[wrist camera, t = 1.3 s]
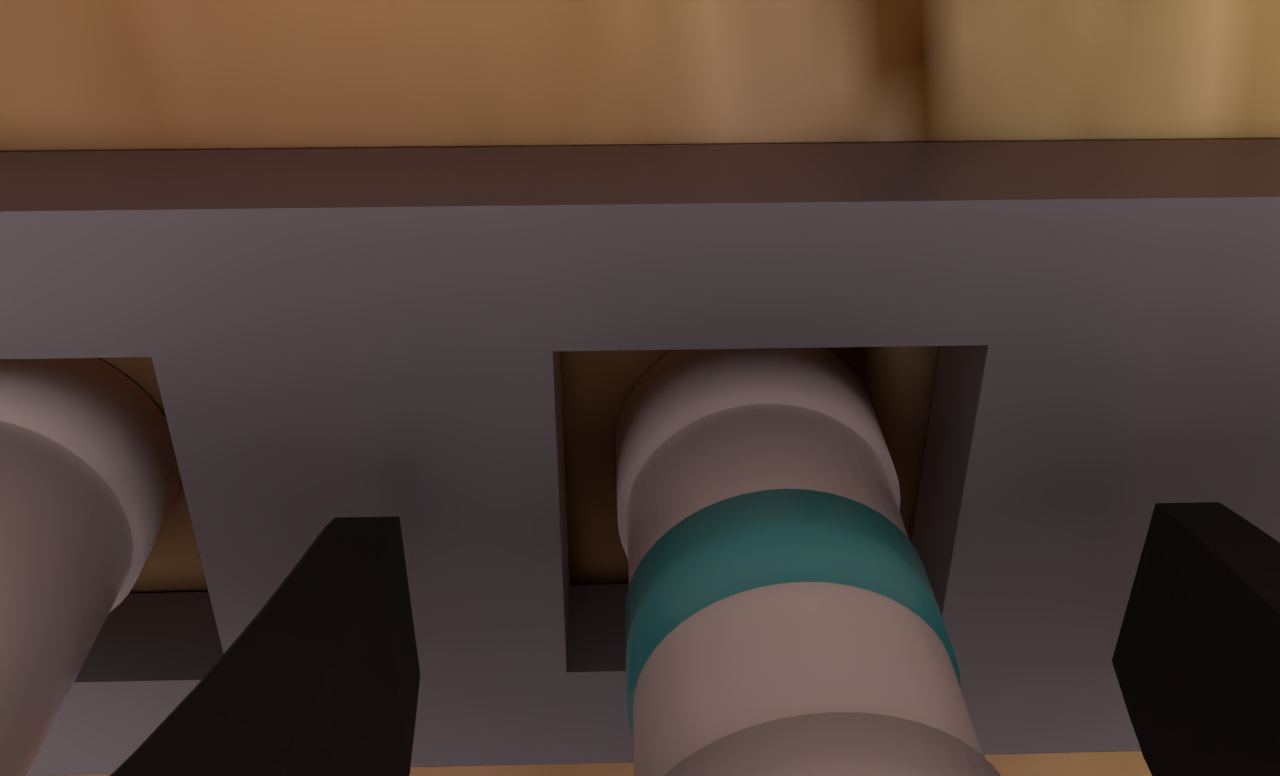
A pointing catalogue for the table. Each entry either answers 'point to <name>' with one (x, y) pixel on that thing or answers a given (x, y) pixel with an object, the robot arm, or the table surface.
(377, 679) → the robot arm
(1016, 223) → the holder
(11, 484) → the cylinder
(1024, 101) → the table surface
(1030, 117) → the table surface
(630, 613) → the marked cartridge
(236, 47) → the table surface
